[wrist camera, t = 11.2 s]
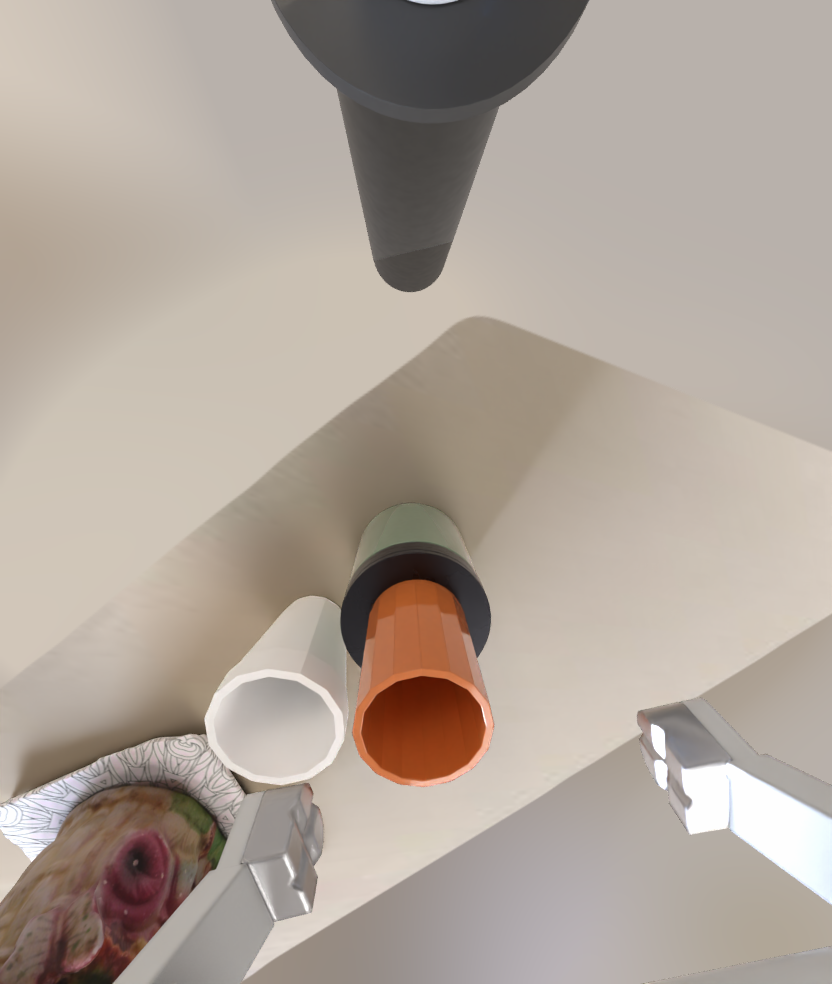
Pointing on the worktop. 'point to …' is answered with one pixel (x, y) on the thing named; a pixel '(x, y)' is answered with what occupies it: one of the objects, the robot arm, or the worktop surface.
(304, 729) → the foam cup
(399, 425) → the worktop surface
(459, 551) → the jar
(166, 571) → the worktop surface
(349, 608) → the jar lid
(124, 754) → the cookie jar
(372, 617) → the cup
